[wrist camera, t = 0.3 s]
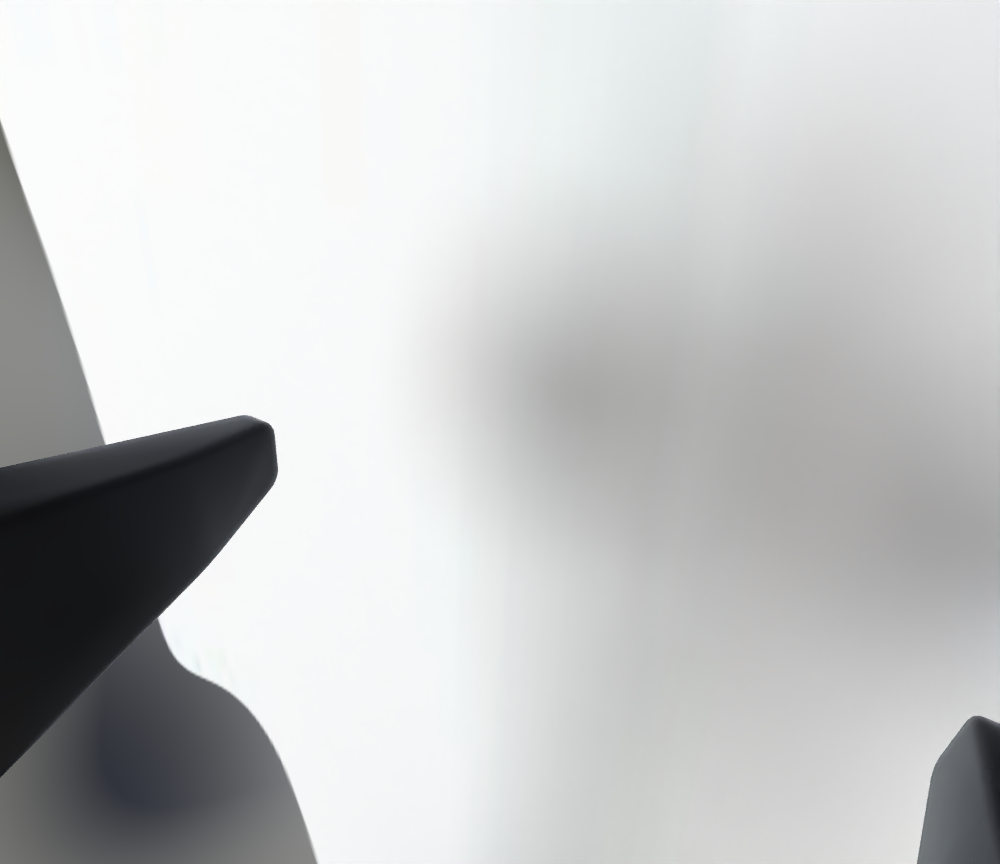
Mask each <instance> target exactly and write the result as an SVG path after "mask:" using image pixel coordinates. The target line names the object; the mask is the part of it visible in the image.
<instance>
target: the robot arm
mask: <svg viewBox="0 0 1000 864" xmlns="http://www.w3.org/2000/svg"><path fill="white" fill-rule="evenodd" d="M277 473H278V464H277V454H276V444H275V434H274V430H273V428H272V427H271V425H269V424H268V423H266V422H264V421H261V420H259V419H257V418H254V417H252V416H248V415H242V416H237V417H232V418H227V419H223V420H218V421H214V422H209V423H204V424H200V425H195V426H191V427H186V428H182V429H177V430H172V431H168V432H163V433H159V434H154V435H149V436H145V437H140V438H136V439H131V440H126V441H122V442H117V443H113V444H108V445H103V446H99V447H94V448H90V449H85V450H81V451H76V452H71V453H67V454H62V455H58V456H53V457H49V458H44V459H39V460H35V461H30V462H26V463H21V464H16V465H12V466H7V467H2V468H0V777H1V776H2V775H3V774H4V773H5V772H6V771H7V770H8V769H9V768H10V767H11V766H12V765H13V764H14V763H15V762H16V761H17V760H18V759H19V758H20V757H21V756H22V755H23V754H24V753H25V752H26V751H27V750H28V749H29V748H30V747H31V746H32V745H33V744H34V743H35V742H36V741H37V740H38V739H39V738H40V737H41V736H42V734H44V733H45V732H46V730H47V729H48V728H49V727H51V725H52V724H53V723H54V722H55V721H56V720H57V719H58V718H59V717H60V716H61V715H62V714H63V713H64V712H65V711H66V710H67V709H68V708H69V707H70V706H71V705H72V704H73V703H74V702H75V701H76V700H77V699H78V698H79V697H80V696H81V695H82V694H83V693H84V692H85V691H86V690H87V689H88V688H89V687H90V686H91V685H92V684H93V683H94V682H95V681H96V680H97V679H98V678H99V677H100V676H101V675H102V674H103V673H104V672H105V671H106V670H107V669H108V668H109V667H110V666H111V664H112V663H113V662H114V661H115V660H116V659H117V658H118V657H119V656H120V655H121V654H122V653H123V652H124V651H125V650H126V649H127V648H128V647H129V646H130V645H131V644H132V643H133V642H134V641H135V640H136V639H137V638H138V637H139V636H140V635H141V634H142V633H143V632H144V631H145V630H146V629H147V628H148V627H149V626H150V625H151V624H152V623H153V622H154V621H155V620H156V619H157V618H158V617H159V616H160V615H161V614H162V613H163V612H164V611H165V610H166V609H167V608H168V607H169V606H170V605H171V604H172V603H173V601H174V600H175V599H176V598H177V597H178V596H179V595H180V594H181V593H182V592H183V591H184V590H185V589H186V588H187V587H188V586H189V585H190V584H191V583H192V582H193V581H194V580H195V579H196V578H197V577H198V576H199V575H200V574H201V573H202V572H203V571H204V570H205V568H206V567H207V566H208V565H209V564H210V563H211V562H212V561H213V559H214V558H215V557H216V556H217V555H218V554H219V552H220V551H221V550H222V549H223V547H224V546H225V545H226V544H227V542H228V541H229V540H230V539H231V537H232V536H233V535H234V534H235V532H236V531H237V530H238V529H239V527H240V526H241V525H242V524H243V523H244V521H245V520H246V519H247V518H248V516H249V515H250V514H251V513H252V511H253V510H254V509H255V508H256V506H257V505H258V504H259V503H260V501H261V500H262V499H263V498H264V496H265V495H266V494H267V493H268V491H269V490H270V489H271V488H272V486H273V484H274V482H275V480H276V478H277ZM917 864H1000V724H999V723H997V722H994V721H992V720H990V719H987V718H985V717H982V716H973V717H971V718H970V719H969V720H967V721H966V723H965V724H964V725H963V727H962V728H961V729H960V731H959V732H958V733H957V735H956V736H955V737H954V739H953V740H952V741H951V743H950V744H949V745H948V747H947V748H946V749H945V751H944V752H943V753H942V755H941V756H940V757H939V759H938V761H937V763H936V765H935V767H934V770H933V773H932V777H931V781H930V787H929V793H928V799H927V806H926V812H925V818H924V824H923V830H922V836H921V842H920V848H919V854H918V860H917Z"/></svg>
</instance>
